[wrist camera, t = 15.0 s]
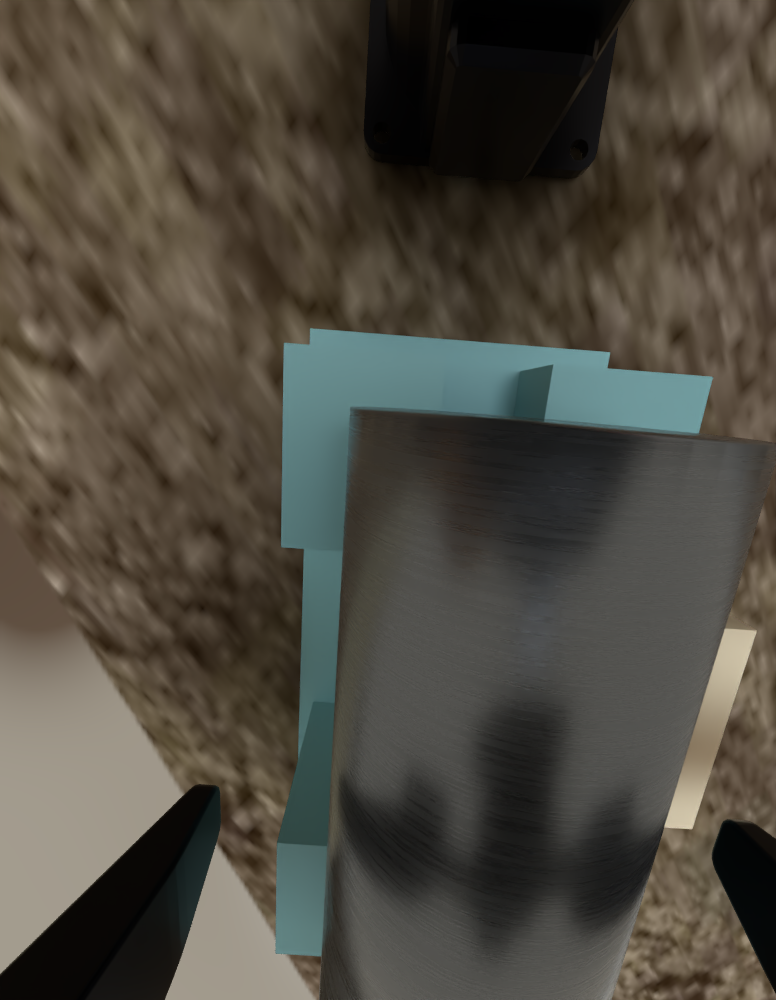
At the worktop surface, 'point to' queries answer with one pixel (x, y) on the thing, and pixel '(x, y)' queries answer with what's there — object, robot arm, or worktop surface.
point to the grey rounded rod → (517, 691)
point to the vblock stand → (321, 508)
